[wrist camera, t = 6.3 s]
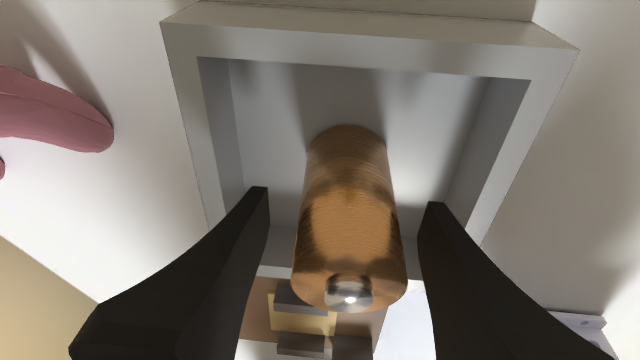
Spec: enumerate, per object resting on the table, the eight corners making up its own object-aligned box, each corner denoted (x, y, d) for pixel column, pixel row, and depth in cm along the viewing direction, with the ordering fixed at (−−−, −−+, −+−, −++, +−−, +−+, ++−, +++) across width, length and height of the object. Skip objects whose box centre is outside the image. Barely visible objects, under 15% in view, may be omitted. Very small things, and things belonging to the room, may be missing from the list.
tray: (531, 21, 13) (580, 50, 10) (441, 245, 21) (454, 295, 18) (199, 0, 13) (159, 22, 11) (236, 226, 21) (219, 272, 19)
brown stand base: (394, 266, 22) (399, 316, 20) (373, 338, 29) (375, 384, 26) (219, 250, 23) (200, 296, 20) (236, 324, 29) (223, 368, 26)
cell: (395, 128, 15) (426, 272, 10) (379, 191, 18) (395, 333, 12) (309, 121, 15) (288, 260, 10) (305, 185, 18) (287, 324, 12)
